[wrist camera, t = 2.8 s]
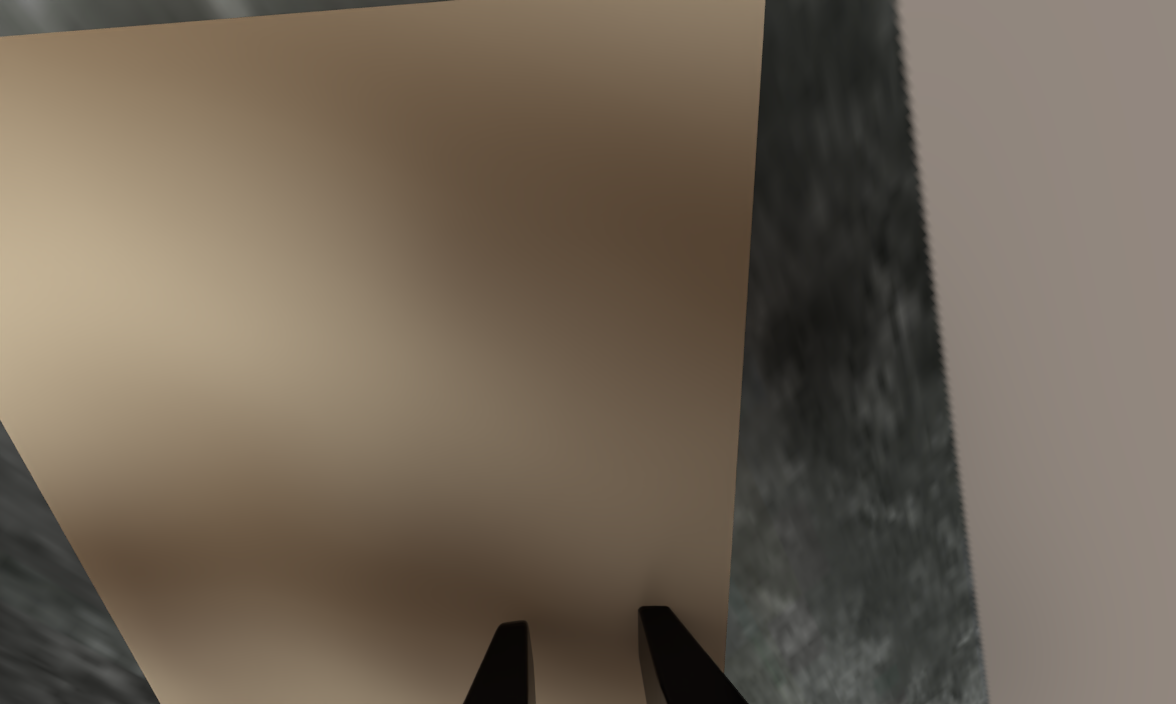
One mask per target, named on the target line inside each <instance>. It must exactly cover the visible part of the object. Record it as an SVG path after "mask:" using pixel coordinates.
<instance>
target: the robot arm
mask: <svg viewBox="0 0 1176 704" xmlns="http://www.w3.org/2000/svg"><path fill="white" fill-rule="evenodd" d="M638 649H639V661H640V667H641V672H642V678H643V684H644V690H645V696H646V702H647V704H748V702H747V701H746V700H745V699H744V698H743V696H742V695H741V694H740V693H739V692H738V690H737V689H736V688H735V687H734V685H733V684H732V683H731V682H730V681H729V679H728V678H727V677H726V676H725V674H724V673H723V672H722V671H721V670H720V668H719V667H718V666H717V665H716V663H715V662H714V661H713V660H712V659H711V657H710V656H709V655H708V654H707V653H706V651H705V650H704V649H703V648H702V646H701V645H700V644H699V643H698V642H697V640H696V639H695V638H694V637H693V635H692V634H691V633H690V632H689V631H688V629H687V628H686V627H685V626H684V624H683V623H682V622H681V621H680V620H679V618H678V617H677V616H676V615H675V614H674V612H673V611H672V610H671V609H670V608H669V607H668V606H641V607H639V609H638ZM463 704H536V695H535V677H534V664H533V655H532V647H531V640H530V632H529V626H528V623H527V621H525V620H519V621H512V622H504V623H501V624H500V625H499V626H498V628H497V629H496V631H495V633H494V636H493V638H492V640H491V642H490V644H489V647H488V649H487V651H486V653H485V656H484V658H483V660H482V662H481V664H480V667H479V669H478V671H477V673H476V676H475V678H474V680H473V682H472V684H471V687H470V689H469V691H468V693H467V696H466V698H465V700H464V702H463Z"/></svg>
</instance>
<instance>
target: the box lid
mask: <svg viewBox="0 0 1176 704" xmlns="http://www.w3.org/2000/svg"><path fill="white" fill-rule="evenodd" d="M764 14H765V0H455V1H442V2H430V3H417V4H405V5H392V6H380V7H367V8H355V9H342V10H330V11H317V12H305V13H293V14H280V15H268V16H255V17H243V18H230V19H218V20H205V21H193V22H180V23H168V24H155V25H143V26H130V27H118V28H105V29H93V30H81V31H68V32H56V33H43V34H31V35H18V36H6V37H0V420H1V422H2V424H3V425H4V427H5V429H6V431H7V432H8V434H9V436H10V438H11V440H12V441H13V443H14V445H15V447H16V448H17V450H18V452H19V454H20V455H21V457H22V459H23V461H24V463H25V464H26V466H27V468H28V470H29V471H30V473H31V475H32V477H33V479H34V480H35V482H36V484H37V486H38V487H39V489H40V491H41V493H42V494H43V496H44V498H45V500H46V502H47V503H48V505H49V507H50V509H51V510H52V512H53V514H54V516H55V518H56V519H57V521H58V523H59V525H60V526H61V528H62V530H63V532H64V533H65V535H66V537H67V539H68V541H69V542H70V544H71V546H72V548H73V549H74V551H75V553H76V555H77V557H78V558H79V560H80V562H81V564H82V565H83V567H84V569H85V571H86V572H87V574H88V576H89V578H90V580H91V581H92V583H93V585H94V587H95V588H96V590H97V592H98V594H99V596H100V597H101V599H102V601H103V603H104V604H105V606H106V608H107V610H108V611H109V613H110V615H111V617H112V619H113V620H114V622H115V624H116V626H117V627H118V629H119V631H120V633H121V635H122V636H123V638H124V640H125V642H126V643H127V645H128V647H129V649H130V650H131V652H132V654H133V656H134V658H135V659H136V661H137V663H138V665H139V666H140V668H141V670H142V672H143V674H144V675H145V677H146V679H147V681H148V682H149V684H150V686H151V688H152V689H153V691H154V693H155V695H156V697H157V698H158V700H159V702H160V704H463V702H464V700H465V698H466V696H467V693H468V691H469V689H470V687H471V684H472V682H473V680H474V678H475V676H476V673H477V671H478V669H479V667H480V664H481V662H482V660H483V658H484V656H485V653H486V651H487V649H488V647H489V644H490V642H491V640H492V638H493V636H494V633H495V631H496V629H497V628H498V626H499V625H500V624H501V623H504V622H512V621H519V620H525V621H527V623H528V626H529V632H530V640H531V647H532V655H533V664H534V677H535V695H536V704H647V702H646V696H645V690H644V684H643V678H642V672H641V667H640V661H639V649H638V609H639V607H641V606H668V607H669V608H670V609H671V610H672V611H673V612H674V614H675V615H676V616H677V617H678V618H679V620H680V621H681V622H682V623H683V624H684V626H685V627H686V628H687V629H688V631H689V632H690V633H691V634H692V635H693V637H694V638H695V639H696V640H697V642H698V643H699V644H700V645H701V646H702V648H703V649H704V650H705V651H706V653H707V654H708V655H709V656H710V657H711V659H712V660H713V661H714V662H715V663H716V665H717V666H718V667H719V668H720V670H721V671H722V672H723V673H724V665H725V649H726V632H727V616H728V600H729V583H730V567H731V551H732V535H733V518H734V502H735V486H736V469H737V453H738V437H739V421H740V404H741V388H742V372H743V356H744V339H745V323H746V307H747V290H748V274H749V258H750V242H751V225H752V209H753V193H754V177H755V160H756V144H757V128H758V111H759V95H760V79H761V63H762V46H763V30H764Z"/></svg>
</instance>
